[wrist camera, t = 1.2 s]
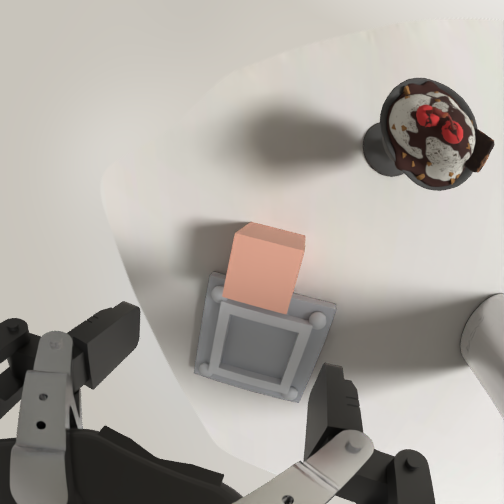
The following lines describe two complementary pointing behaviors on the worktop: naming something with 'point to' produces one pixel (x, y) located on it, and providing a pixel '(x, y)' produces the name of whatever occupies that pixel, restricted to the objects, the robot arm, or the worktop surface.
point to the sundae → (427, 136)
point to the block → (264, 267)
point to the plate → (261, 342)
